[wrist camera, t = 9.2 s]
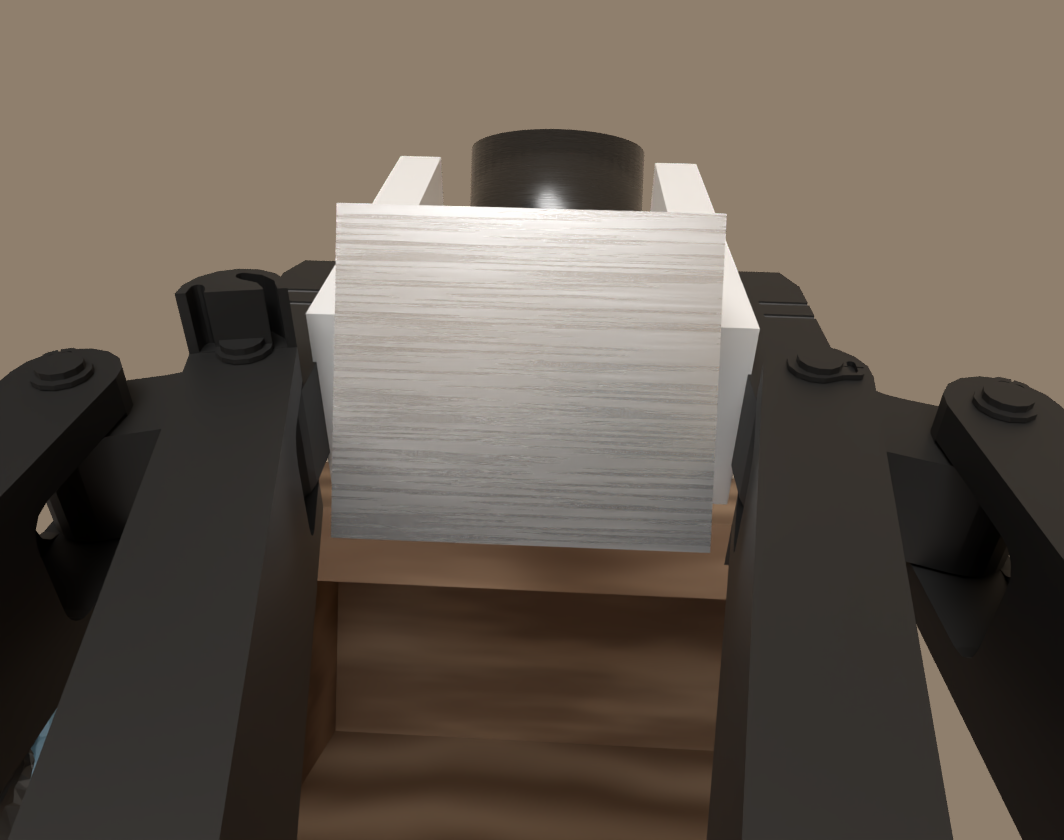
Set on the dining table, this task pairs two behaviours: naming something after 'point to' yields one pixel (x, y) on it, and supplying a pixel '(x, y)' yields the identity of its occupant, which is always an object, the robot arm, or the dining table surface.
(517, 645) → the walnut shelf
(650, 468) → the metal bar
